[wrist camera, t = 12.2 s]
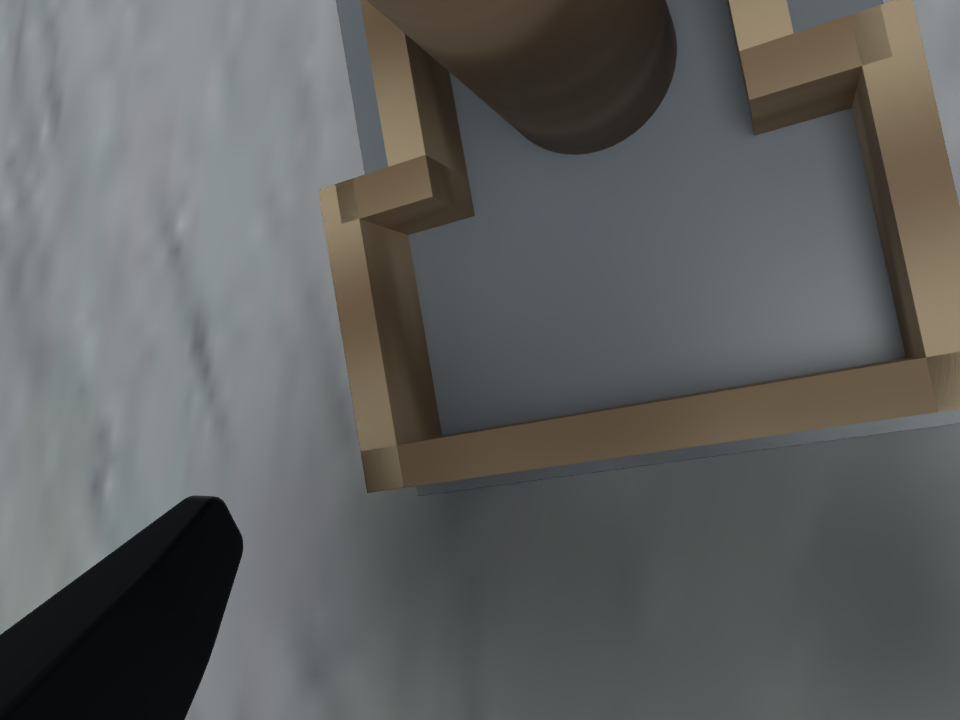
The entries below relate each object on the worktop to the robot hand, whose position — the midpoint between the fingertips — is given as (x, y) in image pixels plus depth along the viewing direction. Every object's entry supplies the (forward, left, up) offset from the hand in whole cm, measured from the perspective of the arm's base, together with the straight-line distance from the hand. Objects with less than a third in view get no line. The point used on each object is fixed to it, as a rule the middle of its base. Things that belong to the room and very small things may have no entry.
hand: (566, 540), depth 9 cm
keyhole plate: (+2, +6, -10) cm, 12 cm away
